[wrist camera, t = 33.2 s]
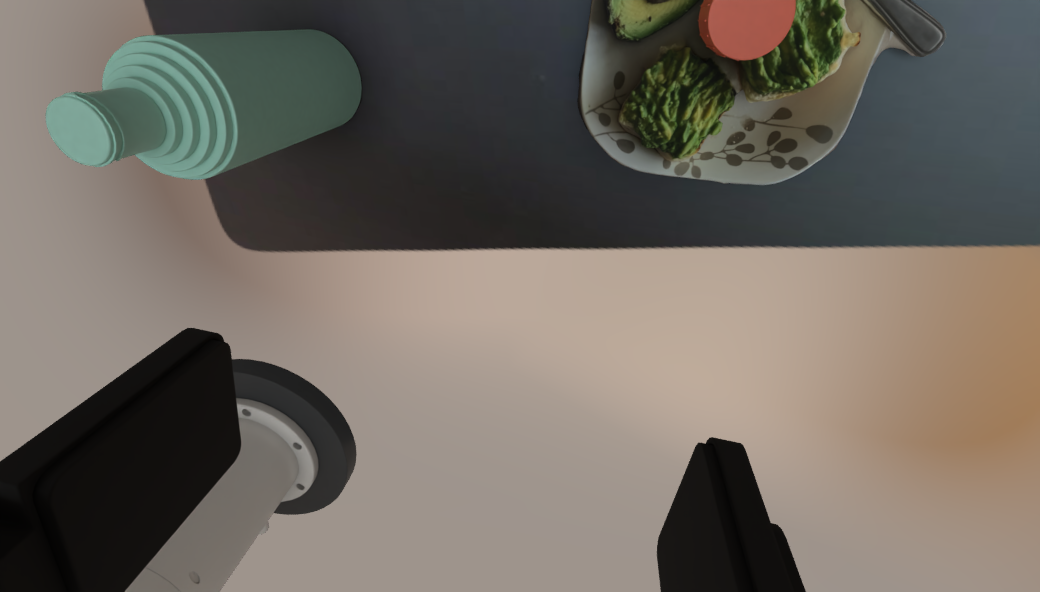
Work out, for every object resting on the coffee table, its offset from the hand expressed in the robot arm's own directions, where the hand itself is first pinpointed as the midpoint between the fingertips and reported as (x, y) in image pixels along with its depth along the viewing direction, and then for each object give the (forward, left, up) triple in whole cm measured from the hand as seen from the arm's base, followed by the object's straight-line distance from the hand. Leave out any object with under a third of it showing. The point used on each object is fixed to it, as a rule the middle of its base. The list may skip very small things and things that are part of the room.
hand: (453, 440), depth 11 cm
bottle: (+1, +18, -29) cm, 34 cm away
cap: (+9, -8, -25) cm, 28 cm away
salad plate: (+8, -8, -30) cm, 32 cm away
